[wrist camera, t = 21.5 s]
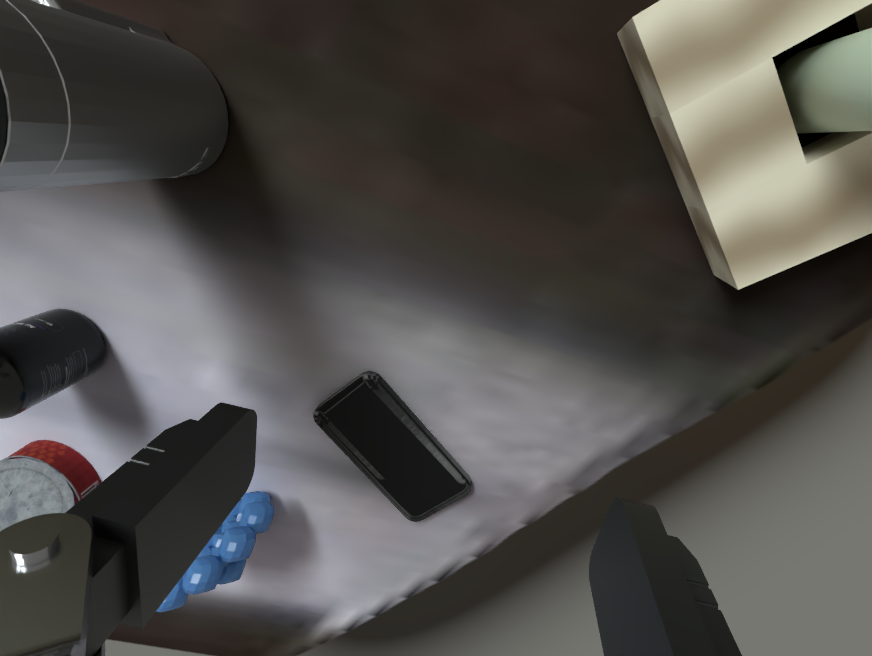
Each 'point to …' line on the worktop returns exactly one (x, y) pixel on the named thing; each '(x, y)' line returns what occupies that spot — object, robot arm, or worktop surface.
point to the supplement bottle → (45, 357)
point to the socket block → (748, 131)
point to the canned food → (43, 481)
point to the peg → (830, 85)
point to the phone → (392, 447)
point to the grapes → (224, 550)
